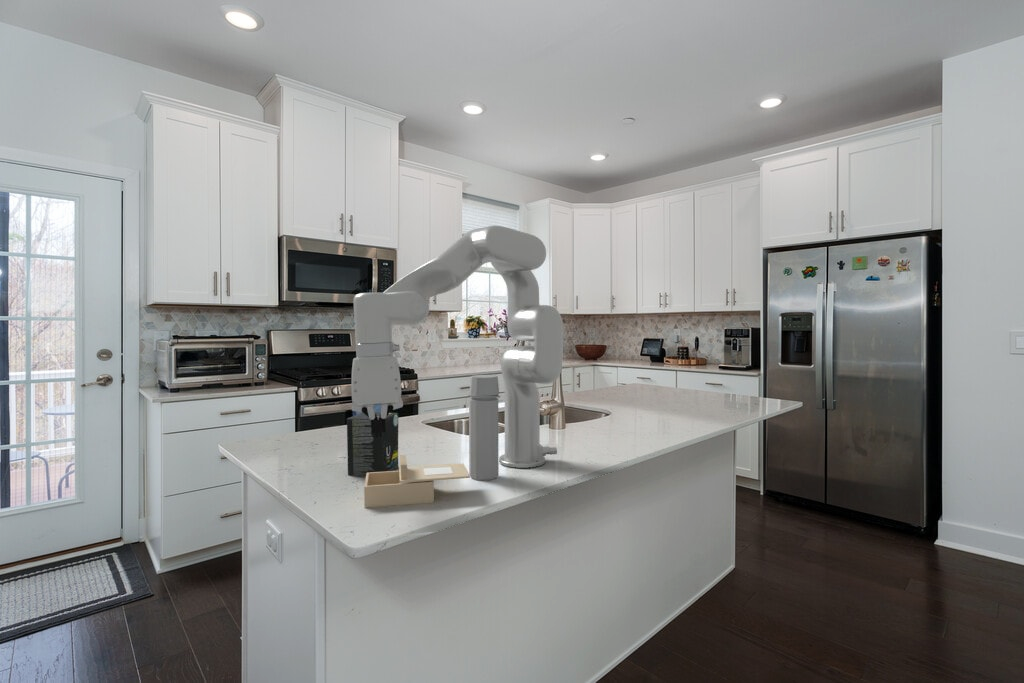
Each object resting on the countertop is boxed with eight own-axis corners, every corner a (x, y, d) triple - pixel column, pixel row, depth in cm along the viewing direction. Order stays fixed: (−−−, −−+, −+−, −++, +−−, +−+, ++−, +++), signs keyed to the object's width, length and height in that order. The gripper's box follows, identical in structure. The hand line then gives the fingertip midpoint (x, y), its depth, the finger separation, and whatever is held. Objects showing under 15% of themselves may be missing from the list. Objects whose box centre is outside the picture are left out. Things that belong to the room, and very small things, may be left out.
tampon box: (381, 479, 125) (380, 419, 124) (346, 477, 126) (345, 418, 126) (399, 467, 135) (399, 411, 135) (367, 465, 137) (367, 410, 137)
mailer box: (430, 488, 117) (430, 468, 117) (433, 503, 108) (433, 481, 107) (366, 493, 114) (366, 472, 114) (364, 509, 104) (364, 486, 104)
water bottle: (489, 484, 120) (489, 378, 119) (462, 479, 124) (461, 376, 123) (509, 474, 128) (509, 375, 127) (482, 470, 132) (482, 373, 131)
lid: (463, 465, 119) (463, 450, 119) (469, 477, 109) (469, 462, 109) (399, 469, 115) (398, 454, 115) (399, 482, 106) (399, 466, 106)
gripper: (409, 348, 114) (413, 429, 115) (339, 351, 111) (344, 435, 112) (411, 350, 107) (415, 437, 108) (335, 354, 103) (340, 444, 104)
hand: (379, 436), depth 110 cm, fingers closed
